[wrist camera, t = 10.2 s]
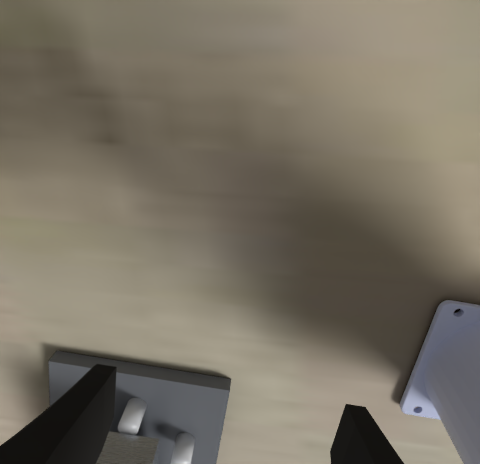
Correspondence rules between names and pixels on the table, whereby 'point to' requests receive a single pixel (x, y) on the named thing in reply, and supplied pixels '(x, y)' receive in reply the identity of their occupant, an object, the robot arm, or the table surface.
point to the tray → (156, 405)
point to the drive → (129, 449)
